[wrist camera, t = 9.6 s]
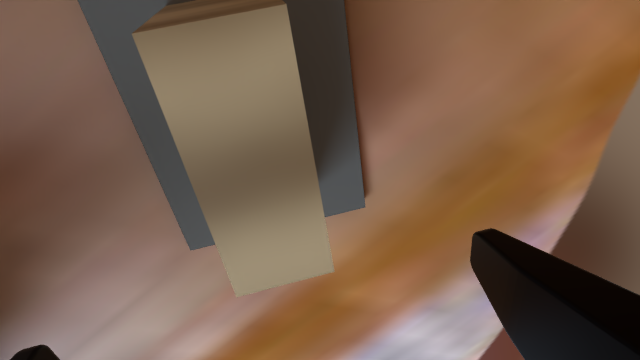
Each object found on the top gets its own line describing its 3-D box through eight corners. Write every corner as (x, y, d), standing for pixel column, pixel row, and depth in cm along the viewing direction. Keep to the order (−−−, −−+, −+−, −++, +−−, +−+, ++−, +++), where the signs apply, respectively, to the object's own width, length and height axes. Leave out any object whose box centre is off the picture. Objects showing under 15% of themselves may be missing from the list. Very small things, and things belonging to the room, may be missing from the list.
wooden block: (308, 192, 20) (334, 271, 15) (235, 210, 20) (236, 297, 15) (267, -13, 15) (286, 3, 10) (165, 5, 15) (131, 33, 10)
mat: (362, 201, 22) (365, 207, 22) (191, 243, 21) (190, 250, 21) (331, -89, 15) (334, -90, 14) (64, -44, 14) (58, -44, 13)
